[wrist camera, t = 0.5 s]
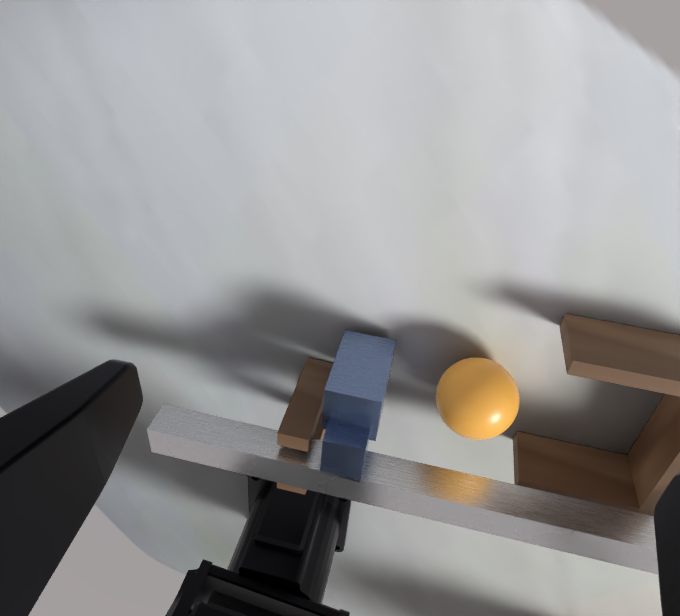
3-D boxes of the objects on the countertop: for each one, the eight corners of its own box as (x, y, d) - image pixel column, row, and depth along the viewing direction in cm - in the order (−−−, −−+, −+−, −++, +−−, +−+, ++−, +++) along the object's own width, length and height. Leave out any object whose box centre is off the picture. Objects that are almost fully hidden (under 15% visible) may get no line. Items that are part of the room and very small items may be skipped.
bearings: (739, 508, 27) (780, 610, 23) (304, 411, 30) (276, 487, 26) (784, 457, 25) (839, 562, 21) (307, 357, 28) (277, 433, 24)
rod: (831, 529, 26) (957, 764, 19) (198, 388, 30) (107, 538, 23) (924, 446, 23) (1124, 699, 15) (188, 298, 27) (76, 444, 20)
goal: (636, 467, 27) (649, 521, 25) (513, 440, 28) (514, 490, 26) (717, 341, 22) (743, 394, 20) (564, 313, 23) (573, 360, 21)
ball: (506, 405, 27) (508, 465, 24) (432, 389, 27) (425, 446, 24) (527, 349, 25) (531, 408, 22) (446, 334, 25) (440, 389, 22)
